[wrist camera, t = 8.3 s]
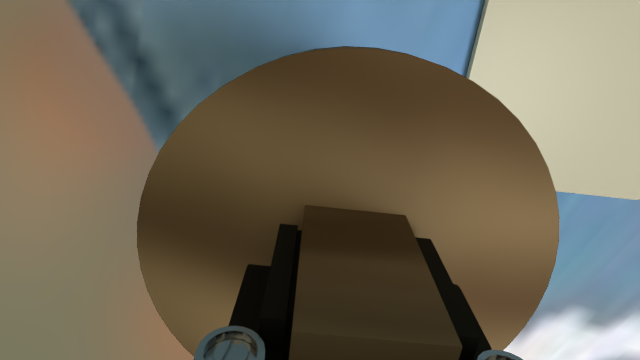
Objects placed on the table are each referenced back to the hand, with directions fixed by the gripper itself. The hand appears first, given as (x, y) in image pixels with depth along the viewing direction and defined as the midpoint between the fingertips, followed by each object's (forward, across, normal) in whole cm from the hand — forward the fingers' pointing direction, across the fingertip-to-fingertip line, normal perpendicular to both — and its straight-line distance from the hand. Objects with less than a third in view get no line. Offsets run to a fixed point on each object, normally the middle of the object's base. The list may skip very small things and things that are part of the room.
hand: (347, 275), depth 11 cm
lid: (+2, 0, 0) cm, 2 cm away
